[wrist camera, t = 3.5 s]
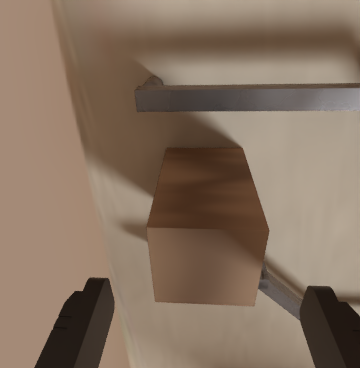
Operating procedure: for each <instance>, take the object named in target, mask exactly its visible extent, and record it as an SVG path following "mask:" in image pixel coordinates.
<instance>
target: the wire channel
mask: <svg viewBox="0 0 360 368" xmlns="http://www.w3.org/2000/svg"><path fill="white" fill-rule="evenodd" d="M135 98H136V107H137V112H176V111H355V110H360V83H336V84H254V85H172V86H163V82H162V80H161V79H160V78H158V77H155V76H153V77H150V78H149V79H148V80H147V81H146V82H145V84H144V85H143V86H138V87H137V89H136V90H135ZM258 289H260V290H261V291H262V292H263V293H265V294H266V295H267V296H269V297H270V298H271V299H273V300H274V301H275V302H276V303H278V304H279V305H280V306H282V307H283V308H284V309H286V310H287V311H288V312H289V313H291V314H292V315H293V316H295V317H296V318H297V319H299V320H300V314H299V312H300V306H301V303H302V301H303V300H301V299H300V298H299V297H298V296H297V295H295V294H294V293H293V292H292V291H290V290H289V289H288V288H287V287H286V286H284V285H283V284H282V283H281V282H279V281H278V280H277V279H276V278H274V277H273V276H272V275H271V274H270V273H268V272H267V269H266V267H265V263H264V260H263V265H262V270H261V275H260V280H259V285H258Z"/></svg>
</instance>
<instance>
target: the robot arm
mask: <svg viewBox="0 0 360 368" xmlns="http://www.w3.org/2000/svg"><path fill="white" fill-rule="evenodd" d="M113 313H114V297H113V293H112V289H111V285H110V281H109V279H108V278H89V279H88V280H87V282H86V285H85V287H84V289H83V291H75V292H74V293H73V294H72V295H71V296H70V297H69V299H67V301H66V302H65V303H64V305H63V308H62V309H61V312H60V314H59V317H58V319H57V320H56V322H55V324H54V327H53V330H52V331H51V333H50V335H49V338H48V340H47V342H46V344H45V346H44V348H43V350H42V352H41V355H40V357H39V359H38V361H37V363H36V365H35V367H34V368H98V367H99V363H100V360H101V356H102V352H103V349H104V345H105V342H106V338H107V335H108V331H109V328H110V324H111V321H112V317H113ZM299 314H300V322H301V325H302V328H303V332H304V335H305V338H306V341H307V344H308V347H309V350H310V353H311V356H312V359H313V362H314V365H315V368H360V316H359V315H358V314H357V313H356V312H355V311H354V310H353V309H352V308H351V306H350V305H349V304H348V303H347V302H339V301H338V299H337V297H336V295H335V293H334V291H333V290H332V288H331V287H329V286H308V287H307V290H306V292H305V295H304V298H303V301H302V303H301V306H300V312H299Z"/></svg>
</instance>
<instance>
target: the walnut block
mask: <svg viewBox="0 0 360 368" xmlns="http://www.w3.org/2000/svg"><path fill="white" fill-rule="evenodd" d="M146 230H147V238H148V246H149V255H150V263H151V271H152V280H153V288H154V296H155V302H168V303H192V304H215V305H238V306H254V305H255V300H256V295H257V290H258V285H259V280H260V275H261V270H262V265H263V260H264V255H265V250H266V245H267V240H268V235H269V228H268V225H267V222H266V218H265V215H264V212H263V209H262V206H261V203H260V200H259V197H258V194H257V191H256V188H255V184H254V181H253V178H252V175H251V172H250V169H249V166H248V163H247V160H246V157H245V154H244V150H243V148H167V149H166V153H165V157H164V160H163V164H162V168H161V172H160V176H159V180H158V184H157V188H156V192H155V195H154V199H153V203H152V207H151V211H150V215H149V219H148V223H147V227H146Z"/></svg>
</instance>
